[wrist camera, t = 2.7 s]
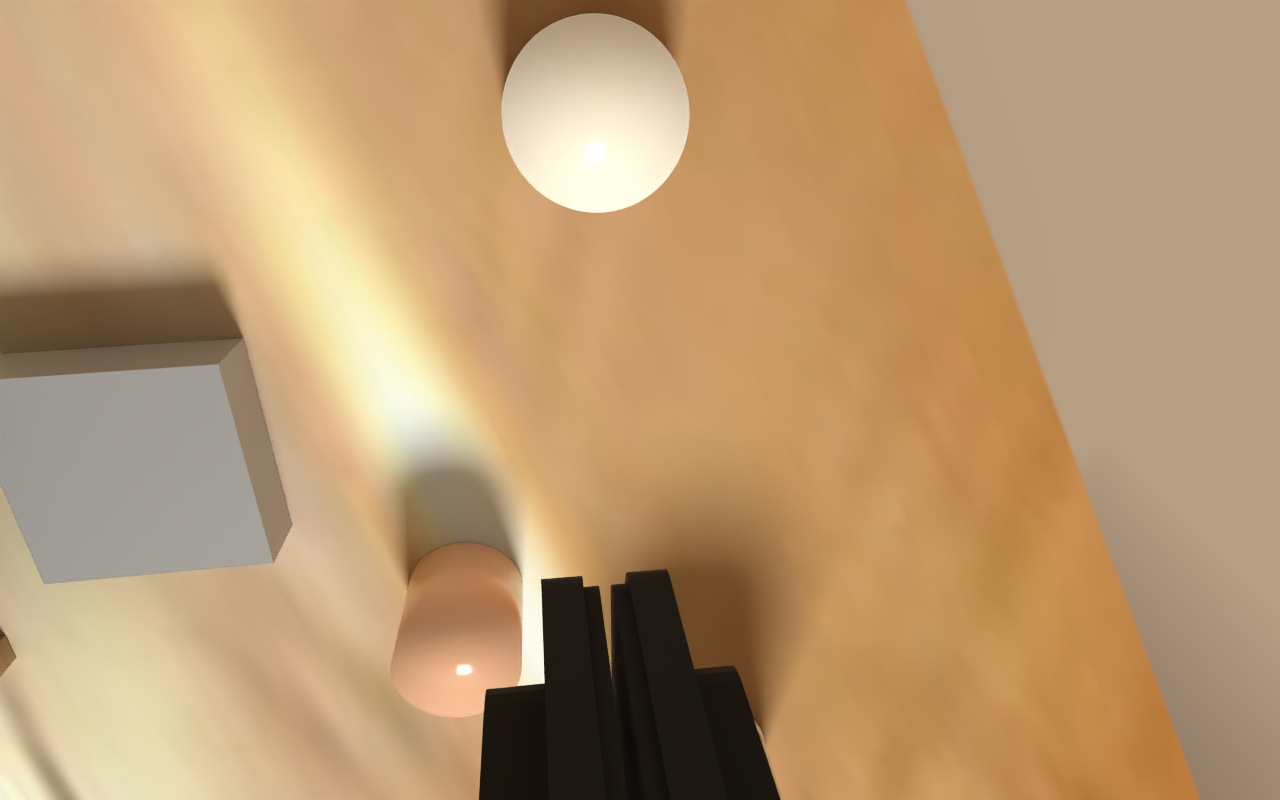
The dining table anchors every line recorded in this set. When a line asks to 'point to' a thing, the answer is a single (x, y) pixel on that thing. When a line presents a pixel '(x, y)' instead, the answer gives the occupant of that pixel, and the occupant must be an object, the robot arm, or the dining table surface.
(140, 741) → the dining table surface
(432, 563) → the peach rounded cylinder
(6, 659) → the fence
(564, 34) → the white rounded puck
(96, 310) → the dining table surface
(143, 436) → the push block
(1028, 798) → the dining table surface
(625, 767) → the robot arm
